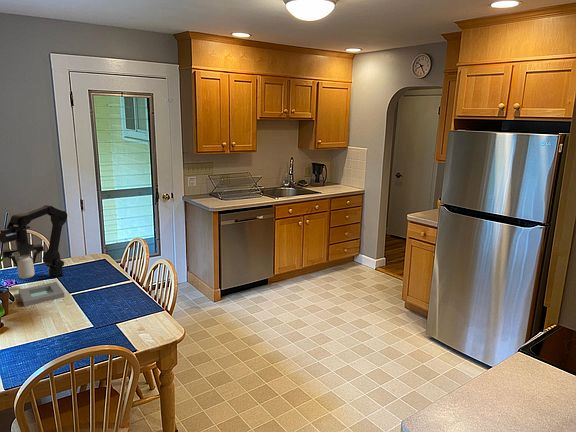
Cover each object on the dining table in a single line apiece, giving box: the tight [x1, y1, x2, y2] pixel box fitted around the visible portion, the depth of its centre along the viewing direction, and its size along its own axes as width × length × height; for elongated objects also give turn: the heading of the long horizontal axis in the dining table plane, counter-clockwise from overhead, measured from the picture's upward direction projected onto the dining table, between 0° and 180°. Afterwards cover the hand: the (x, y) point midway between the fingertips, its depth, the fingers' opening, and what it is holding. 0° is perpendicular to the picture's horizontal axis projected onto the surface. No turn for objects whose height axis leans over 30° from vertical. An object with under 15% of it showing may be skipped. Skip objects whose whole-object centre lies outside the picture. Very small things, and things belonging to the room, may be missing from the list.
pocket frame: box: [18, 281, 65, 307], centre depth 218 cm, size 18×18×2 cm
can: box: [15, 254, 36, 280], centre depth 224 cm, size 8×8×12 cm
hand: (25, 265), depth 224 cm, fingers closed on can, 7 cm apart
